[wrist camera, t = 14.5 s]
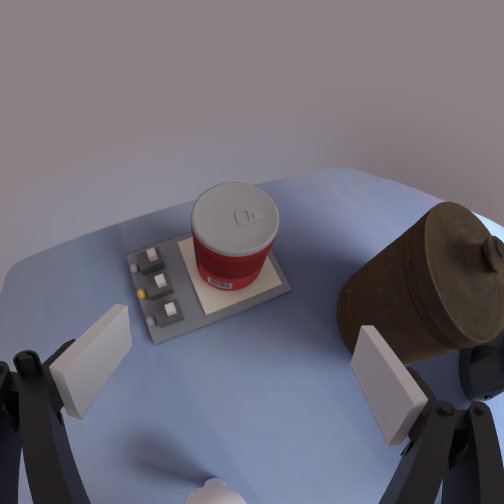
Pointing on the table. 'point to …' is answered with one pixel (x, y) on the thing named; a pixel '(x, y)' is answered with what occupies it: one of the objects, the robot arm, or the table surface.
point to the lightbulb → (214, 494)
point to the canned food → (233, 234)
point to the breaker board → (192, 289)
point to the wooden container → (429, 288)
